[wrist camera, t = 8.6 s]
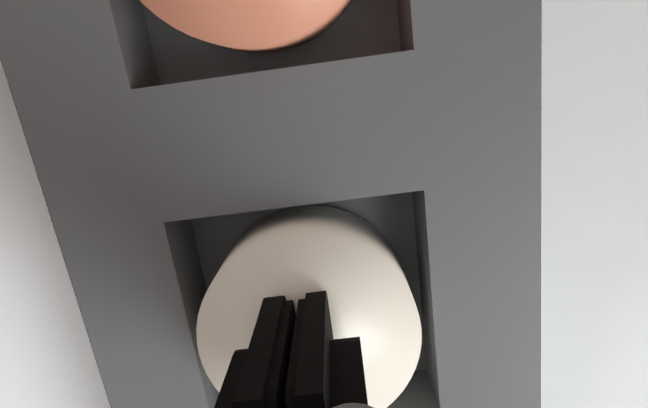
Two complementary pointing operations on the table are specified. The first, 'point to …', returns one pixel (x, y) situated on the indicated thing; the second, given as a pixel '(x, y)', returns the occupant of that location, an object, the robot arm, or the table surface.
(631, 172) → the table surface
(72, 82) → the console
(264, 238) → the button cream
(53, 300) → the table surface
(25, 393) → the table surface
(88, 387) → the table surface
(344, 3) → the button terracotta
